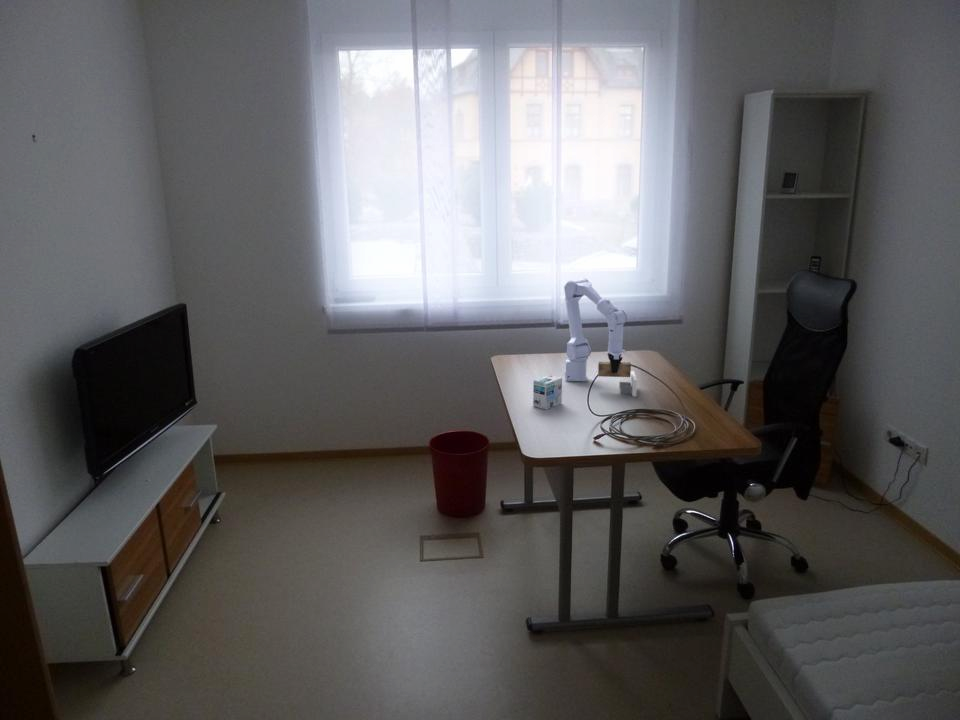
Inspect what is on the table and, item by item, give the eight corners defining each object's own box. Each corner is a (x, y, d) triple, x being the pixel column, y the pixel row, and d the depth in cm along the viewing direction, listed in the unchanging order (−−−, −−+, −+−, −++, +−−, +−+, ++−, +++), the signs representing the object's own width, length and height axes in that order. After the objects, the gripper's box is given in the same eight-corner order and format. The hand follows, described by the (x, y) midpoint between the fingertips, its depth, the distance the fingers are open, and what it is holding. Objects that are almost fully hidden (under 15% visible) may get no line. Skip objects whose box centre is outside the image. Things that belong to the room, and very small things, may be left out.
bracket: (621, 396, 283) (622, 379, 281) (618, 386, 296) (619, 370, 294) (636, 396, 283) (637, 380, 281) (632, 386, 295) (633, 371, 293)
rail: (598, 376, 287) (599, 363, 286) (598, 374, 290) (598, 361, 289) (630, 377, 286) (630, 364, 284) (629, 374, 289) (630, 362, 288)
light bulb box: (545, 410, 267) (546, 383, 265) (532, 406, 272) (532, 380, 269) (562, 403, 275) (563, 377, 272) (548, 399, 279) (549, 374, 277)
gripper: (627, 344, 277) (625, 376, 280) (623, 335, 291) (622, 367, 294) (609, 344, 277) (607, 376, 281) (606, 335, 291) (605, 366, 295)
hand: (614, 371), depth 288 cm, fingers closed on rail, 3 cm apart
